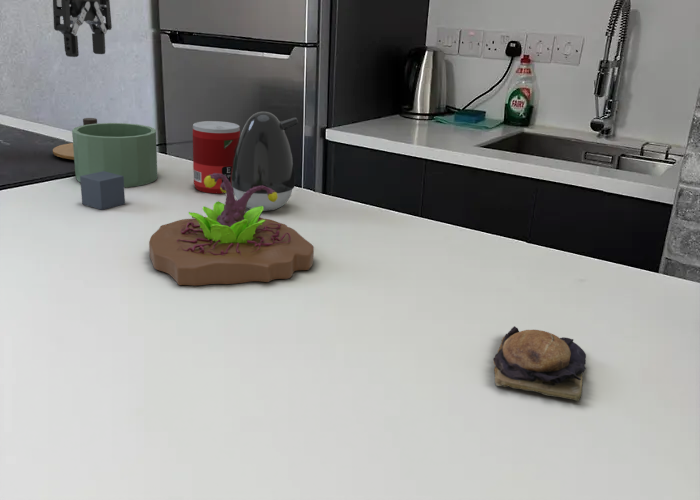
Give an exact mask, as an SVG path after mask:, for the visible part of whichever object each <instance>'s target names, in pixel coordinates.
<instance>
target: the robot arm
mask: <svg viewBox="0 0 700 500" xmlns="http://www.w3.org/2000/svg"><path fill="white" fill-rule="evenodd" d="M110 2H111V1H110V0H52V11H53V12H52V14H53V15H52V16H53V29H54V31H57V32H60V33H61V34H62V35H63V43H64V52H65V56H66V57H70V58H77V57H79V55H80V54H79V53H80V51H79V42H78V41H79V40H78V38H79V37H78V35H77V33H78V31H79V28H80V26H82V25H83V24H84V23H86V24H87V25H88V26H89V28H90V30H91V32H92V33H91V39H92V40H91V41H92V53H94V54H95V55H105V54H106V39H105V38H106V34H107V31H111V30H112V27H113V25H112V13H111V3H110ZM61 17H62V18H61ZM61 20H62V21H63V22H62V23H61ZM104 21H105V22H104Z"/></svg>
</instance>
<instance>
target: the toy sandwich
mask: <svg viewBox="0 0 700 500" xmlns="http://www.w3.org/2000/svg"><path fill="white" fill-rule="evenodd" d="M492 361H493V364H494V369H493V372H494V383H495V386H496V387H497V386H498V387H503V388H506V387H509V388H512V389H517V390H522V391H528V392H535V393H539V394H542V395H544V396H549V397H550V396H551V397H556V398H562V399H568V400H571V401H575V402H579V401H580V400H581V397H582V391H583V387H584V386H583V373H584V372H585V371H586V370H587V369H586V368H587V367H586V362H587V354H586V352H585V351H584V349H583V348H581V346H579V345H578V343H576V342H574V338H570V337H559V336H557V335H556V334H554V333H551V332H549V331H545V330H541V329H525V330H521V331H520V330H519V328H518V327H516V326H512V327H511V328H510V330H509V331H508V332H507V333H505V335H504V336H503V337H502V339H501V342H500V344H499V348H498V349H497V353H496V354H495V355H494V357H493V359H492Z"/></svg>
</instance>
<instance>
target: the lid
mask: <svg viewBox="0 0 700 500" xmlns="http://www.w3.org/2000/svg"><path fill="white" fill-rule="evenodd" d="M97 123H98V119H97V118H95V117H84V118H82V125H89V124H97ZM52 154H53V155H54V156H56V157H57V158H62V159H65V160H66V159H67V160H72V161H74V149H73V142H70V143H64V144H60V145H57V146H55V147H53V149H52Z"/></svg>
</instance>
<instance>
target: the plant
mask: <svg viewBox="0 0 700 500" xmlns="http://www.w3.org/2000/svg"><path fill="white" fill-rule="evenodd" d="M218 179H222V180H223V181H224V182H223V183H222V184H221V185H220V189H221V191H222V192H224V193H223V194H226V195H225V197H226V198H225V202H224V203H222V202H220V200H219V201H218V200H217V201H215V202H214V204H213V206H212V207H213V209H211V208H210V207H207V206H202V210H203V212H204V213H205V215H206V216H203V215H202V214H200V213H198V212H193V211H192V212H190V211H188V215H189V216H191V218H183V219H178V220H175V221H172V222H168V223H165V224H162V225H160V227H159V228H158V229H157V230H156V231H155V232H154V233H153V234H152V235H151V236H150V238H149V240H148V250H149V252H148V253H149V258H150V260H151V263H152V266H153V268H154V269H155V270H156V271H160V272H162V273H166V274H168V275H169V276H170V277H171V278H172V279H174V281H175V282H176V284H177V285H178V286H197V287H198V286H206V285H237V284H243V283H244V284H245V283H250V282H262V283H269V282H271V281H273V280H289V279H290V278H292V277H293V275H294V273H295V272H296V271H309V270H311V268H312V267H313V265H314V256H315V255H314V254H315V248H314V245H313V244H312V243H310V241H308V240H307V239H306V238H305V237H303V236H302V235H301V234H300V233H299V232H298V231H296V230H295V229H294V228H292V227H290V226H288V225H287V224H285V223H281V222H279V221H276V220H273V219H270V218H265V217H264V218H263V217H260V216H261V214H262V213H263V212H264V211H263V209H264V207H263V206H259V207H254V208H252V209H249V210H247V207H246V206H247V202H248V200H249V198H251V195H252V194H253V193H254V192H256V191H258V190H259V191H260V190H262V189H263V190H266V191H267V195H268V199H269V200H270V201H272V202H274V201H276V200H277V198H278V196H277V193H276V192H275V191H274V190H272V189H271V188H268V187H266V186H263V185H262V186H257V187H253V188H252V189H251V188H250V190H248V191H246V193H244V195H243V196H242V197H241V198H240V199H239V200H237V199H236V197H235V194H234V192H233V191H234V189H233V187H232V186H231V183H230V182H229V180H228V179H227V177H226V176H224V175H223V174H220V173H213V174H209V176H207V177H206V178H205V179H204V184H205V186H206V187H209V188H211V187H213V186H215V184H216V182H217V180H218Z"/></svg>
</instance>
